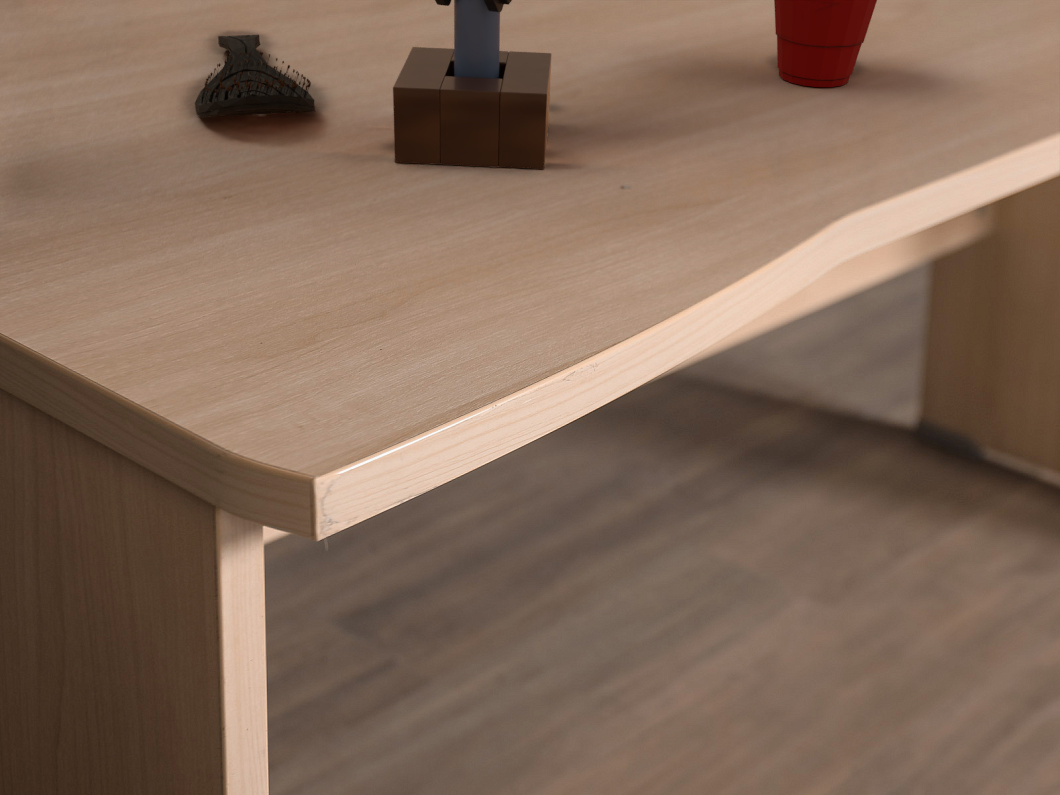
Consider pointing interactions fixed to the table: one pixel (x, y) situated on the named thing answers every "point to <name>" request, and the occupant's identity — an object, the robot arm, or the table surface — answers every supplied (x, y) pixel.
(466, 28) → the handle
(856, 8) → the plastic cup
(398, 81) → the holder
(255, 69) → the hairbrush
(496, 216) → the table surface
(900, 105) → the table surface
